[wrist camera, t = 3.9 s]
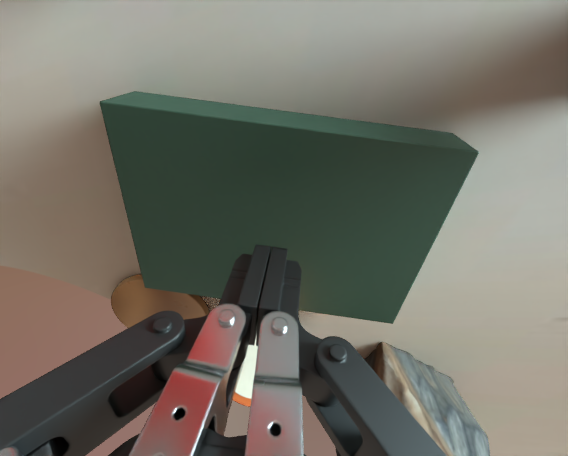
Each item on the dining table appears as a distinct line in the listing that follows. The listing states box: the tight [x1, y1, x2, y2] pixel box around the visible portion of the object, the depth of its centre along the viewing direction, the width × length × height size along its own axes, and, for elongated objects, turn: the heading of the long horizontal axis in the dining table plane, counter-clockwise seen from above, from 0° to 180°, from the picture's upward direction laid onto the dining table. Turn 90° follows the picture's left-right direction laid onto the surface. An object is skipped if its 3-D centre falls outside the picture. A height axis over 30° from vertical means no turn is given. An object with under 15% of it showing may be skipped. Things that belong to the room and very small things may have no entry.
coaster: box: [111, 274, 210, 328], centre depth 29 cm, size 10×10×1 cm
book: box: [100, 91, 479, 324], centre depth 20 cm, size 20×14×4 cm
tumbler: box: [233, 335, 258, 407], centre depth 23 cm, size 6×10×10 cm, turn 174°
